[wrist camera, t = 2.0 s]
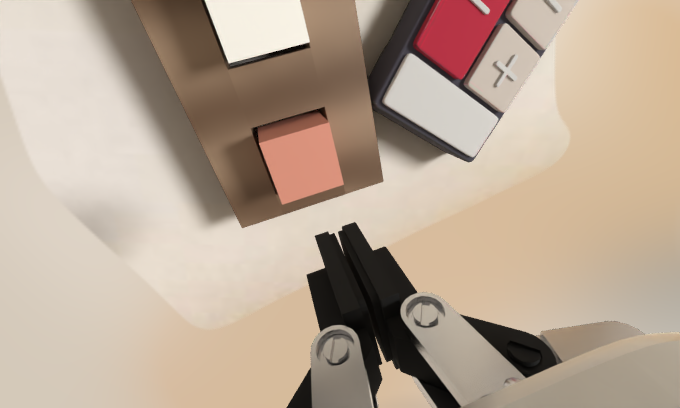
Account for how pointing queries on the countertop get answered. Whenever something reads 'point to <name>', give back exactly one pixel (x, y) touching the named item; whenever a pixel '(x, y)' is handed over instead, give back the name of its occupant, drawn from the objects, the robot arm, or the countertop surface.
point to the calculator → (461, 66)
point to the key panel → (268, 97)
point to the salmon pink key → (300, 156)
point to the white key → (257, 26)
